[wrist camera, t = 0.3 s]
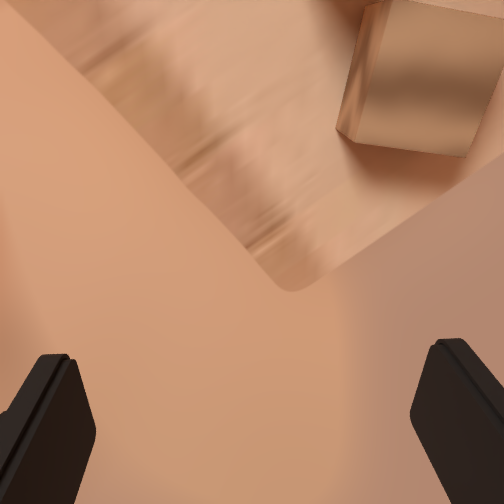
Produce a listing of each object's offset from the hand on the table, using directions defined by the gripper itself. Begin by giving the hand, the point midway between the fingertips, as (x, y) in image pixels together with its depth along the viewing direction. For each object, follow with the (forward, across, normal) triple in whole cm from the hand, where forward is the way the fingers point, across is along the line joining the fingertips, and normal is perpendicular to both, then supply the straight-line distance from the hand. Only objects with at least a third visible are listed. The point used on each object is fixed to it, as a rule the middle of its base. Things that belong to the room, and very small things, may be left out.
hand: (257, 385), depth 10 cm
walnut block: (+30, -16, -6) cm, 34 cm away
